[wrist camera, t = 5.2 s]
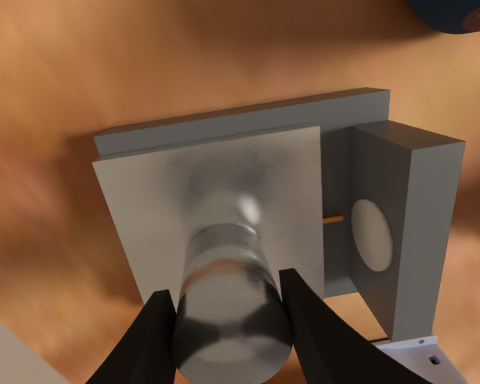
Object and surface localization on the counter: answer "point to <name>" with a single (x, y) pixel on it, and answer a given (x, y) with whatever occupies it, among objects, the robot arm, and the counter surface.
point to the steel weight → (229, 311)
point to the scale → (353, 193)
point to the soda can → (449, 15)
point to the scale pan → (219, 202)
